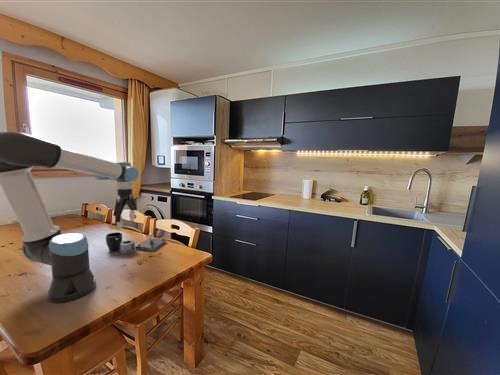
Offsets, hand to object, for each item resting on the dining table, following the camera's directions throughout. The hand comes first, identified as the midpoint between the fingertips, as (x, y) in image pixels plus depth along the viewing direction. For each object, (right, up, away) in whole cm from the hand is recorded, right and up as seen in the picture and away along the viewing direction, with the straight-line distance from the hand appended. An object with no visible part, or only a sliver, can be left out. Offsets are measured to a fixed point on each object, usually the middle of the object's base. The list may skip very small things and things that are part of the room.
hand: (126, 223), depth 124 cm
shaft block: (+11, -16, +9) cm, 21 cm away
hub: (+1, -17, -1) cm, 17 cm away
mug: (-7, -17, +1) cm, 18 cm away
